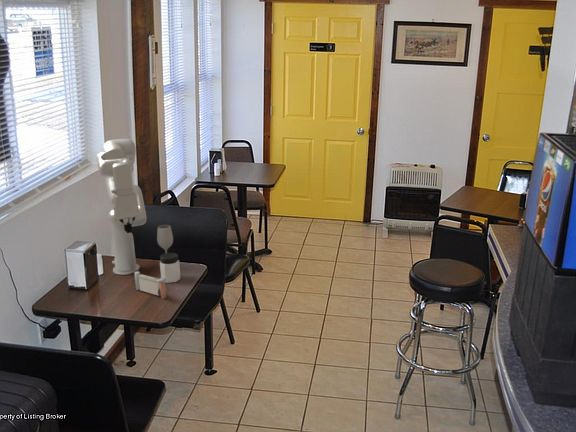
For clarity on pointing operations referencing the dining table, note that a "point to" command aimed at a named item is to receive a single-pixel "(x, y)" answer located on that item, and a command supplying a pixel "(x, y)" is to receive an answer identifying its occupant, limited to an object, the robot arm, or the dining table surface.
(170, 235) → the wineglass
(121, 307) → the dining table surface
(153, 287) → the gate
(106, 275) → the dining table surface
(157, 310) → the dining table surface
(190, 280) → the dining table surface
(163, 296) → the end post
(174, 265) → the jar
